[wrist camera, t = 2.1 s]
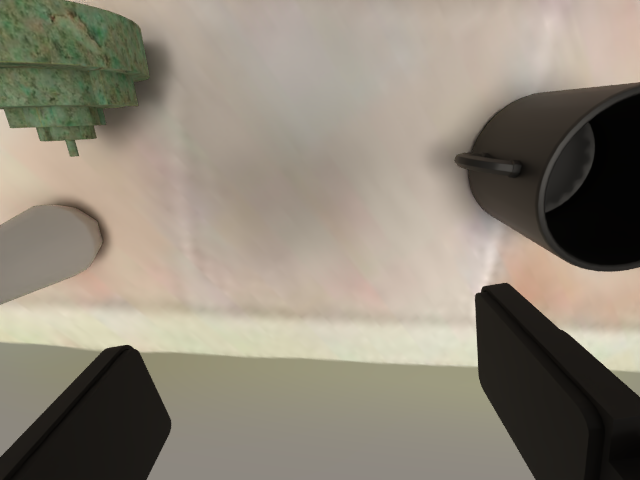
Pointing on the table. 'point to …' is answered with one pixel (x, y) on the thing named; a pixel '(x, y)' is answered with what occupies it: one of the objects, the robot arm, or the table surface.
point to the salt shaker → (45, 248)
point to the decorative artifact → (66, 67)
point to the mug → (566, 173)
